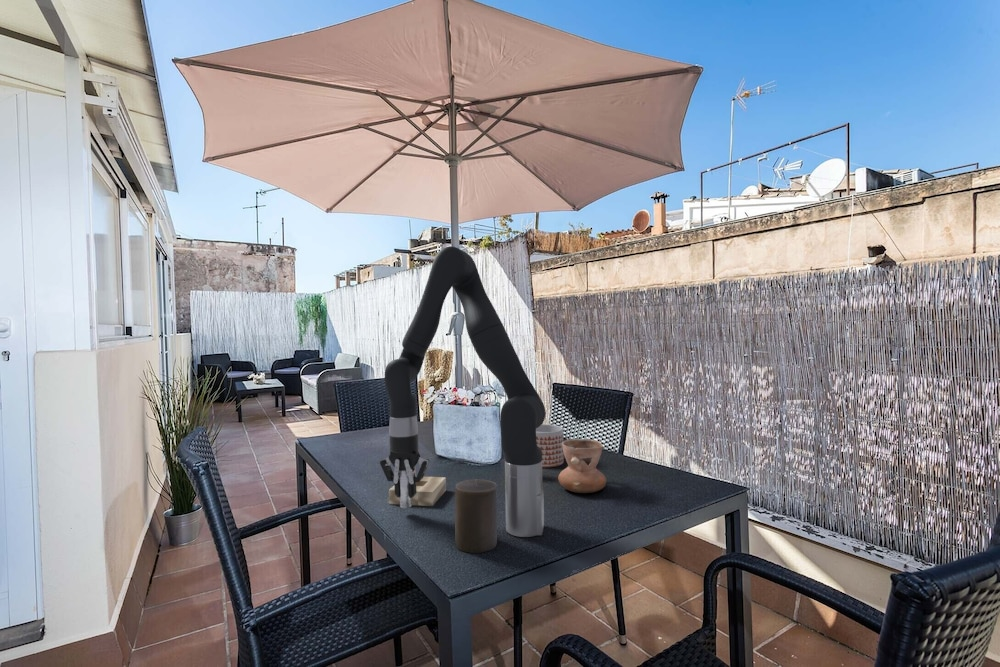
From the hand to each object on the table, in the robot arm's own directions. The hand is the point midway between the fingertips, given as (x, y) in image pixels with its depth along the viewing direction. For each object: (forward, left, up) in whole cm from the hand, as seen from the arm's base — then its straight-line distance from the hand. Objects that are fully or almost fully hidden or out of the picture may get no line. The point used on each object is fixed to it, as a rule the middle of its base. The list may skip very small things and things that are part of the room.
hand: (405, 496), depth 129 cm
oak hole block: (+1, -13, -5) cm, 14 cm away
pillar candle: (-23, +14, -5) cm, 27 cm away
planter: (-33, -53, -5) cm, 63 cm away
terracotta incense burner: (-47, -27, -5) cm, 54 cm away
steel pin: (0, 0, -3) cm, 3 cm away
